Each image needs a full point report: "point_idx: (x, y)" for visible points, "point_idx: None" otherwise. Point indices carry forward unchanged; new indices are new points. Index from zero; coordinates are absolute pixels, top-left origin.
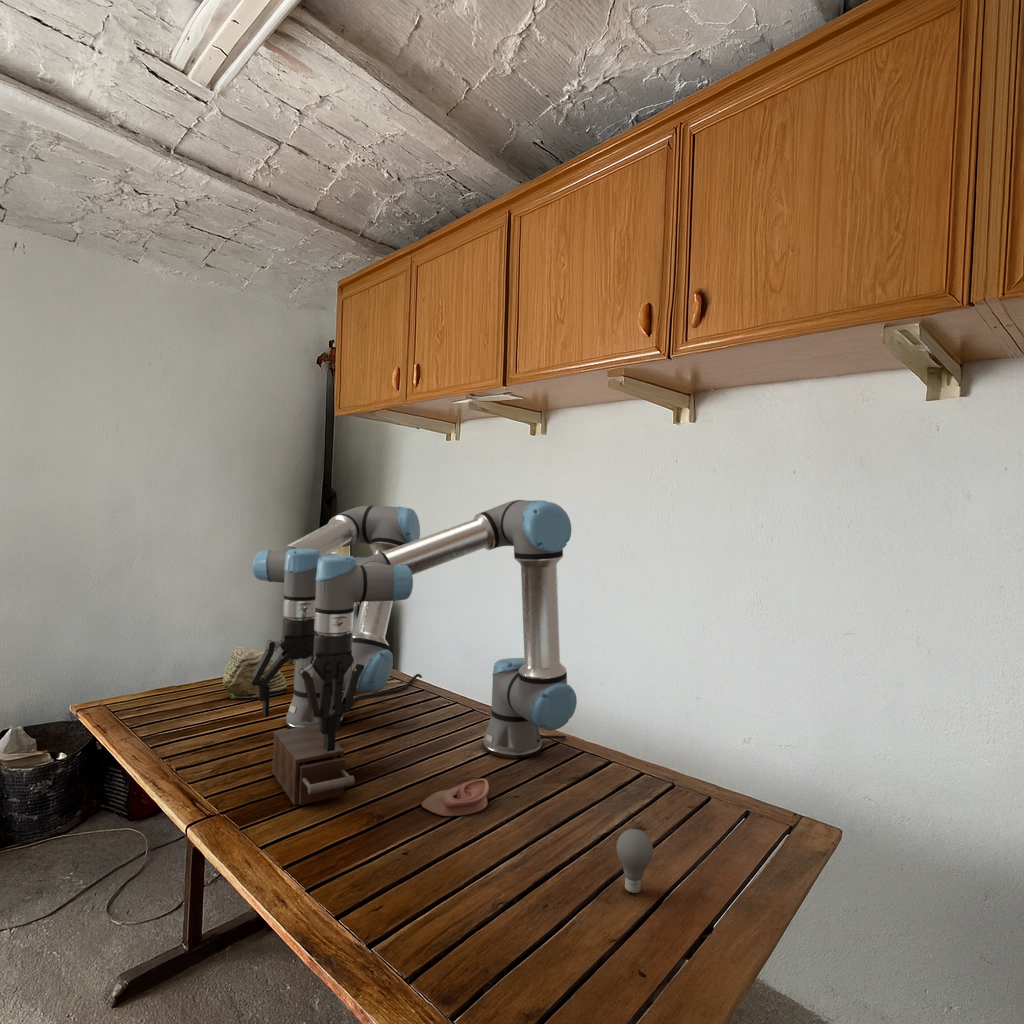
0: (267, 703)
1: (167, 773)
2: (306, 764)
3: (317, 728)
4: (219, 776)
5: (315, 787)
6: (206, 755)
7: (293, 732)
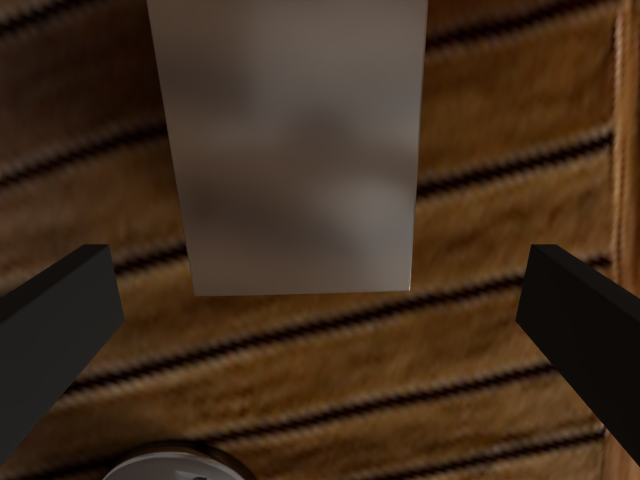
0: (610, 291)
1: None
2: None
3: (208, 243)
4: (522, 269)
5: None
6: (504, 412)
7: (331, 240)
